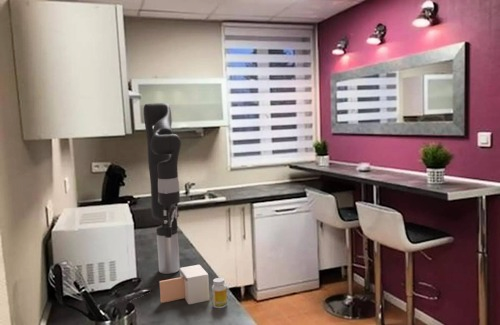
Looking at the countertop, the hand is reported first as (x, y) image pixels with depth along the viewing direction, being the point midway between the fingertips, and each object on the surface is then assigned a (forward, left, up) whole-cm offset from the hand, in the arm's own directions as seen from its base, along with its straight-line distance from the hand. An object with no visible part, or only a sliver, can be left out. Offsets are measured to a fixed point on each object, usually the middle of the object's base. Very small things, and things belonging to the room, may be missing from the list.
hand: (171, 233), depth 155 cm
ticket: (-2, +2, -26) cm, 26 cm away
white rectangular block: (-2, +8, -26) cm, 28 cm away
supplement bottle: (+10, +14, -27) cm, 31 cm away
